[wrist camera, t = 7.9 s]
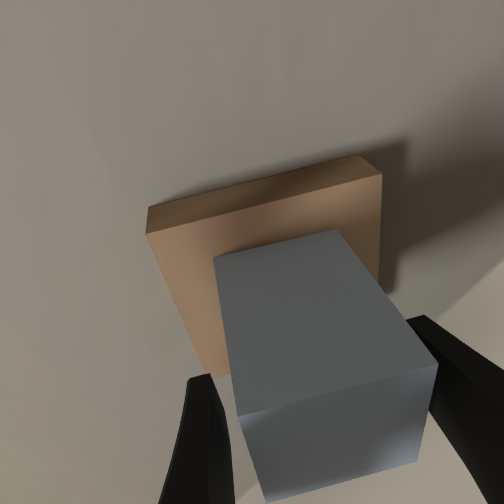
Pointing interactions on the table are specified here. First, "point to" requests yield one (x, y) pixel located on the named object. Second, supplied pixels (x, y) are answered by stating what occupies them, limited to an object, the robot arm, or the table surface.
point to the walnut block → (258, 234)
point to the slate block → (320, 365)
